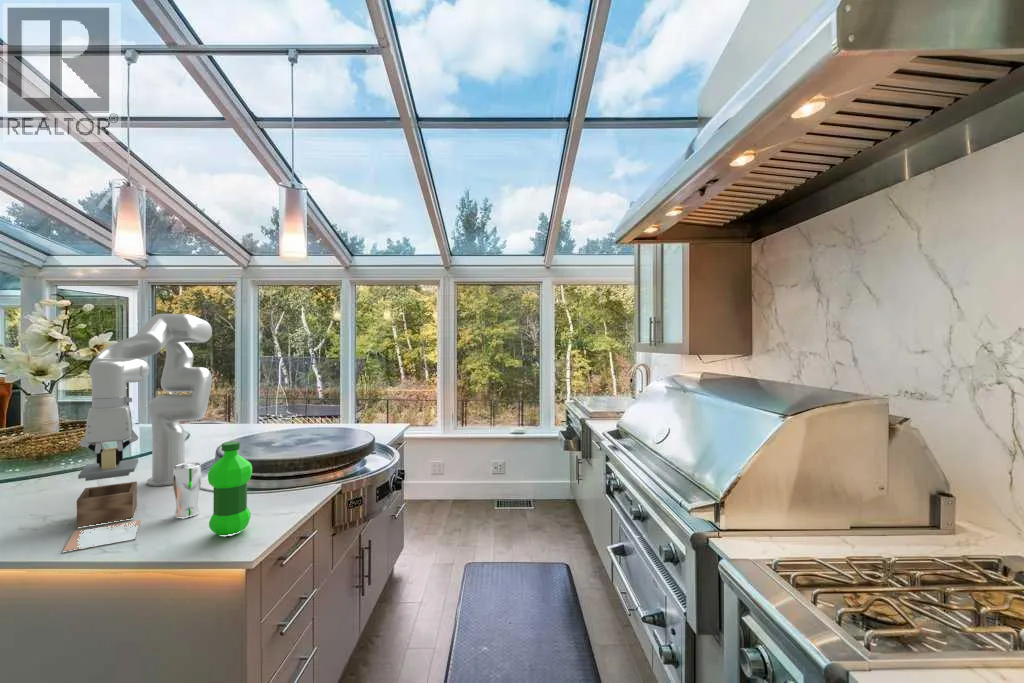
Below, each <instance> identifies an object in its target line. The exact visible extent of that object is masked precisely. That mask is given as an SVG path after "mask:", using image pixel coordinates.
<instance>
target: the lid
mask: <svg viewBox="0 0 1024 683" xmlns="http://www.w3.org/2000/svg"><path fill="white" fill-rule="evenodd" d="M116 451H117V446H113V447H105V448H103V451H102V453H101V466H102V467H99V463H98V464H97V463H90V464H85V466H84V467H83V469H82V470H81V471H80V472H79V474H78V475H77V476H78V477H77V479H79V480H81V479H85V480H84V481H85V482H90V481H97V480H104V479H111V478H113V479H114V478H118V477H119V478H120V477H126V476H130V473H135V471H136V469H137V465H138V463H139V459H138V458H134V459H133V458H132V459H123V460H122V461H120V463H119V465H117V464H116Z"/></svg>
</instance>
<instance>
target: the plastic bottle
mask: <svg viewBox="0 0 1024 683" xmlns="http://www.w3.org/2000/svg"><path fill="white" fill-rule="evenodd" d="M240 449H241V442H240V441H238V440H237V441H236V440H232V441H225V442H222V444H221V451H222V452H223V456H221V458H220V459H218V460H217V461H216V462H215V463H214V464H213V465H212V466H211V467H210V468H209V471H208V473H207V480H208V483H209V485H210V486H212V487H213V510H212V511H213V514H212V515H211V517H210V519H209V521H208V522H209V523H208V527H209V529H210V530H211V531H212V532H213V533H215V534H216V535H218V536H219V535H228V534H233V533H237V532H239V531H241V530H243V529H244V530H245V529H246V528H247V527H248V525H249V522H250V520H251V517H252V516H251V515H252V514H251V511H250V509H249V508H248V482H249V481H250V480H251V478H252V474H253V465H252V463H251V462H250V460H249V461H248V460H247V459H245V457H243V456H241V455H239V454H238V450H240ZM241 532H242V531H241Z"/></svg>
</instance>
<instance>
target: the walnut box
mask: <svg viewBox="0 0 1024 683" xmlns="http://www.w3.org/2000/svg"><path fill="white" fill-rule="evenodd" d="M136 507H138V481H137V480H136V481H130V482H121V483H115V484H105V485H99V486H91V487H85V488H84V489H83V490H82V492H81V493H80V495H79V497H78V498H77V500H76V529H77V528H78V527H83V526H89V525H96V524H101V523H108V522H114V521H120V520H126V519H131V518H133V519H134V517H135V514H136V511H137V508H136ZM135 510H136V511H135ZM134 513H135V514H134ZM133 516H134V517H133Z"/></svg>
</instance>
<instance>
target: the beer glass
mask: <svg viewBox="0 0 1024 683" xmlns="http://www.w3.org/2000/svg"><path fill="white" fill-rule="evenodd" d="M201 484H202V469H201V463H199V462H185V464H180V465H177V466H175V467H174V472H173V484H172V488H173V493H174V498H175V499H174V500H175V505H176V506H175V513H174V516H175V517H186V516H190V515H193V514H195V513H197V512H199V513H200V509H199V505H198V504H199V503H198V501H199V500H198V499H199V495H200V490H201ZM175 517H174V518H175Z"/></svg>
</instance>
